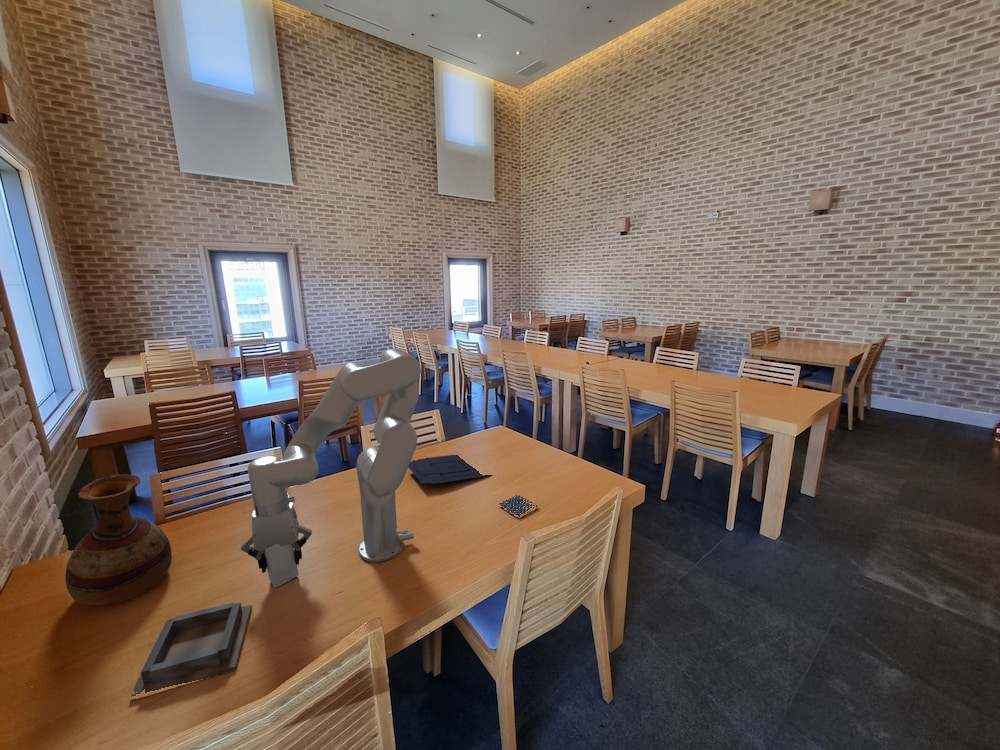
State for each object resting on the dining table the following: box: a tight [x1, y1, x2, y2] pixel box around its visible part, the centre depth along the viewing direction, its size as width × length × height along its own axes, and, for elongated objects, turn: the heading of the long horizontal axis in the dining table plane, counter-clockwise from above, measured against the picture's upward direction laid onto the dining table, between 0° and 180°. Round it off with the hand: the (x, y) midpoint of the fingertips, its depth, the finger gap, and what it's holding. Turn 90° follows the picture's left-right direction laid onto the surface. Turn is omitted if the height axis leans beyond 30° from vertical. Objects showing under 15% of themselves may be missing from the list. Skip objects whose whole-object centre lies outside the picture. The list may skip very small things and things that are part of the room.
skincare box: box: [264, 544, 299, 588], centre depth 104 cm, size 6×4×12 cm
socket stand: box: [130, 601, 253, 697], centre depth 85 cm, size 17×17×4 cm
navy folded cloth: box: [408, 454, 483, 485], centre depth 165 cm, size 24×30×4 cm
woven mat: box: [498, 494, 538, 517], centre depth 140 cm, size 10×11×2 cm
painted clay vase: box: [64, 473, 173, 606], centre depth 100 cm, size 20×20×30 cm
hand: (281, 564), depth 104 cm, fingers closed on skincare box, 7 cm apart
